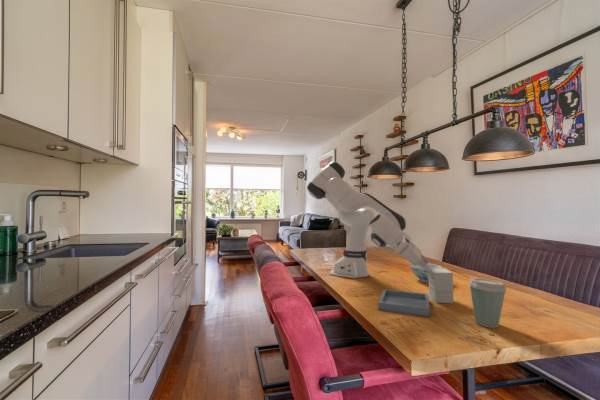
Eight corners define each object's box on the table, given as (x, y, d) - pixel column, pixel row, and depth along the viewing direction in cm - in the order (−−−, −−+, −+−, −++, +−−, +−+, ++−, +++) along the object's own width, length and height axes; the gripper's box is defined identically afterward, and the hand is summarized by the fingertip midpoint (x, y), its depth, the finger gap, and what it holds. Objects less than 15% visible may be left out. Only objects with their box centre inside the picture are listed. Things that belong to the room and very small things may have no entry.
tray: (378, 310, 108) (378, 302, 108) (383, 295, 125) (383, 289, 125) (429, 317, 101) (429, 308, 101) (428, 300, 118) (427, 293, 118)
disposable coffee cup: (471, 315, 102) (471, 274, 103) (508, 322, 96) (507, 279, 96) (466, 325, 94) (466, 280, 94) (506, 334, 87) (505, 286, 88)
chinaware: (404, 279, 152) (404, 264, 152) (424, 275, 158) (424, 262, 158) (427, 286, 138) (427, 270, 138) (448, 282, 144) (448, 267, 144)
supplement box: (446, 297, 122) (445, 268, 122) (453, 303, 114) (453, 272, 115) (428, 297, 123) (428, 268, 123) (435, 303, 115) (434, 272, 115)
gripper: (398, 244, 134) (422, 264, 130) (394, 252, 115) (422, 277, 111) (407, 234, 132) (432, 255, 128) (405, 241, 113) (434, 266, 109)
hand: (427, 265), depth 119 cm, fingers open, 8 cm apart
